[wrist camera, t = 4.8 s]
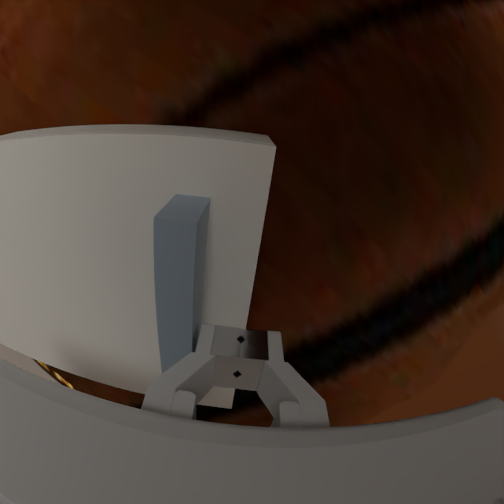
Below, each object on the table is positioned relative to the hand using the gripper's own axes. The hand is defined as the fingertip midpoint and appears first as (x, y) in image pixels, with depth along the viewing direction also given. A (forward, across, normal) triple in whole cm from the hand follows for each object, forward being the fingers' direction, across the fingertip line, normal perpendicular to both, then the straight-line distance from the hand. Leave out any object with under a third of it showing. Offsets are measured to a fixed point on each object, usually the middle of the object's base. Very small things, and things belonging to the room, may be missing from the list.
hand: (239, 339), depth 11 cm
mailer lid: (+2, +9, 0) cm, 9 cm away
